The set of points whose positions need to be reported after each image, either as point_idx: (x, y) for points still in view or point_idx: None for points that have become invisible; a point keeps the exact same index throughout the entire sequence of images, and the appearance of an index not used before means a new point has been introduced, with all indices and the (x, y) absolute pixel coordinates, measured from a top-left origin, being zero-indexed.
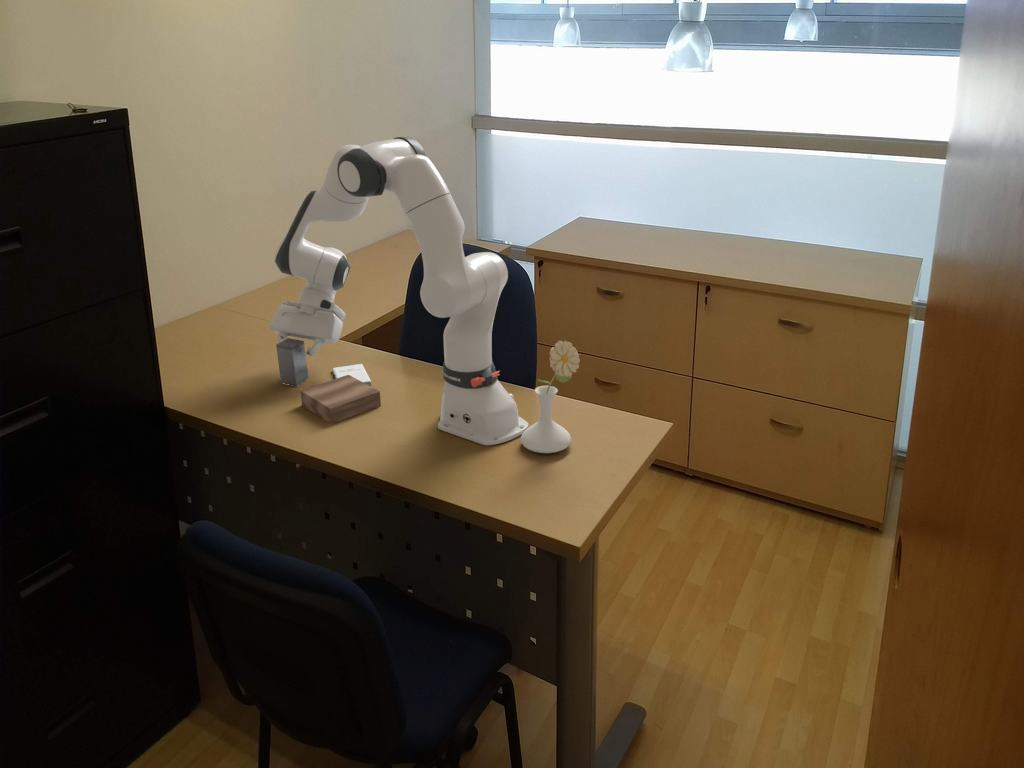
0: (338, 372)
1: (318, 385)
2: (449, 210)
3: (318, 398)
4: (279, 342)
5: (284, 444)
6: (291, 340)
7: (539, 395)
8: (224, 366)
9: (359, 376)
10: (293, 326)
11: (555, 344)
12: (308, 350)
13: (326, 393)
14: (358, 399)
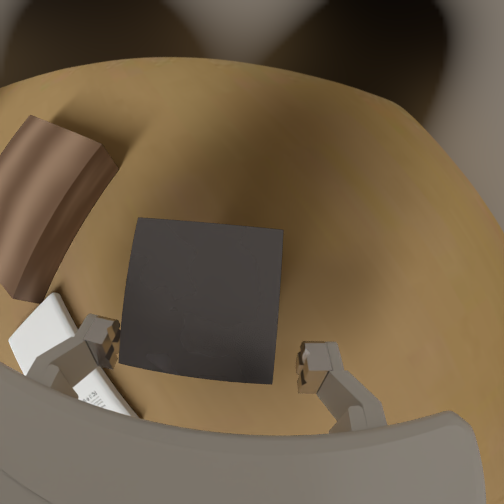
0: (97, 391)
1: (61, 192)
2: None
3: (51, 133)
4: (340, 367)
5: (110, 61)
6: (216, 348)
7: None
8: (470, 322)
9: None
10: (267, 486)
11: None
12: (102, 328)
13: (37, 161)
14: None
